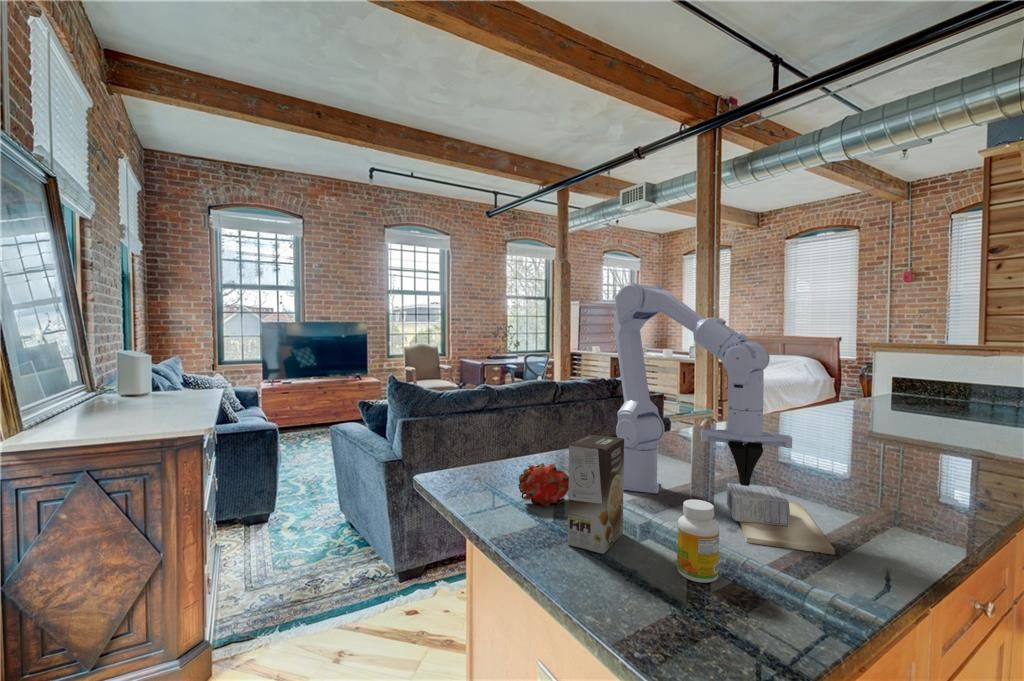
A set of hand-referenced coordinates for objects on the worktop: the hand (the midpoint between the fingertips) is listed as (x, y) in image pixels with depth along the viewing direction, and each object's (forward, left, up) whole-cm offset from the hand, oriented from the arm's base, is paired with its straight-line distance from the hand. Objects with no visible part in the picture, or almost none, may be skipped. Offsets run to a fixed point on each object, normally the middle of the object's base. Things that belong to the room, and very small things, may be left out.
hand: (744, 484), depth 83 cm
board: (+5, 0, -6) cm, 8 cm away
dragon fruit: (-36, -4, -7) cm, 37 cm away
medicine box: (-2, 0, -3) cm, 4 cm away
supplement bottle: (-9, -23, -7) cm, 26 cm away
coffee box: (-24, -17, -7) cm, 30 cm away
